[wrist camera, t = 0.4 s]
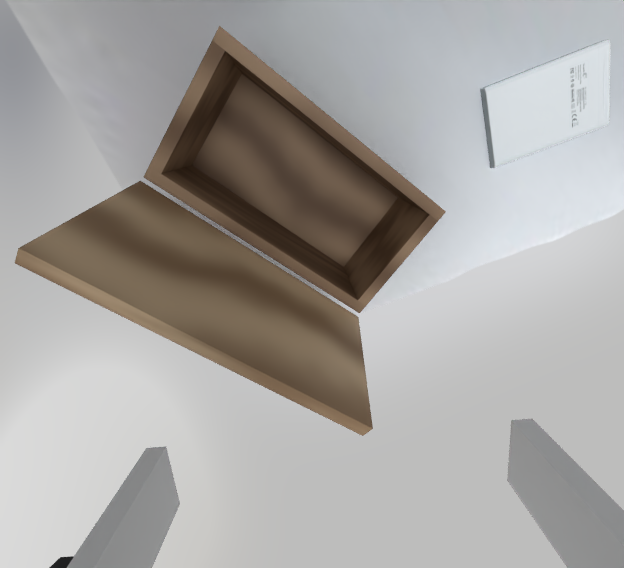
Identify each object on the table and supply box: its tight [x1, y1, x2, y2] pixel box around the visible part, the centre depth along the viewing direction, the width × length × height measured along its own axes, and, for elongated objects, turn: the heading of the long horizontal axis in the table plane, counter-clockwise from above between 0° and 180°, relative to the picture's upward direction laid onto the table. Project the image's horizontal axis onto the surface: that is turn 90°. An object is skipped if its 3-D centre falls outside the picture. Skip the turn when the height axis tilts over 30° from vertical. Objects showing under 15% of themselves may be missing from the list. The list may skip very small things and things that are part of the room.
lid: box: [15, 181, 373, 436], centre depth 24 cm, size 12×22×1 cm
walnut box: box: [144, 26, 446, 313], centre depth 32 cm, size 12×22×10 cm, turn 54°
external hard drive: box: [480, 39, 611, 168], centre depth 35 cm, size 2×8×12 cm
